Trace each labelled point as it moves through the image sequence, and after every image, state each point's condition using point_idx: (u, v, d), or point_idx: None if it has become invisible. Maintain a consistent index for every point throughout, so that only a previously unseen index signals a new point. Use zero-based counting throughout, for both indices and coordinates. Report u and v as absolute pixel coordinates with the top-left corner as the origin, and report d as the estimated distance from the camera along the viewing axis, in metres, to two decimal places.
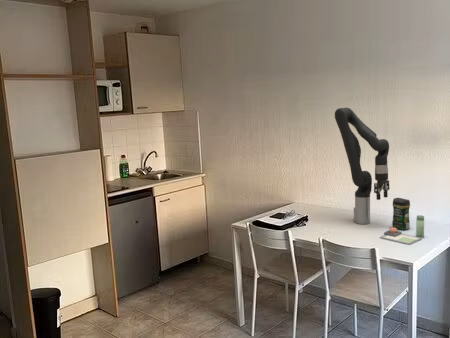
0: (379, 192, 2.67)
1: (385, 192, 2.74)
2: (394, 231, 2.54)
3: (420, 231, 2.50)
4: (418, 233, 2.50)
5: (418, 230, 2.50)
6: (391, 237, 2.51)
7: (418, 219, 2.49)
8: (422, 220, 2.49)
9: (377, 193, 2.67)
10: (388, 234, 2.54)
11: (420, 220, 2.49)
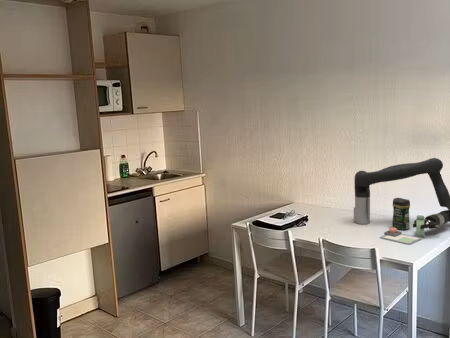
0: None
1: None
2: (394, 231, 2.54)
3: (420, 231, 2.50)
4: (418, 233, 2.50)
5: (418, 230, 2.50)
6: (391, 237, 2.51)
7: (418, 219, 2.49)
8: (422, 220, 2.49)
9: (427, 226, 2.49)
10: (388, 234, 2.54)
11: (420, 220, 2.49)
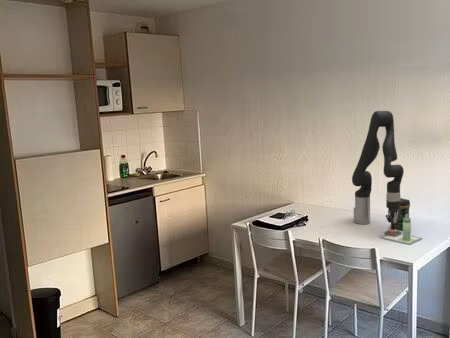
0: (394, 222, 2.53)
1: None
2: (394, 232, 2.54)
3: (406, 234, 2.43)
4: (404, 236, 2.44)
5: (404, 233, 2.44)
6: (391, 237, 2.51)
7: (404, 221, 2.43)
8: (408, 222, 2.43)
9: (391, 222, 2.54)
10: (388, 234, 2.54)
11: (406, 222, 2.43)
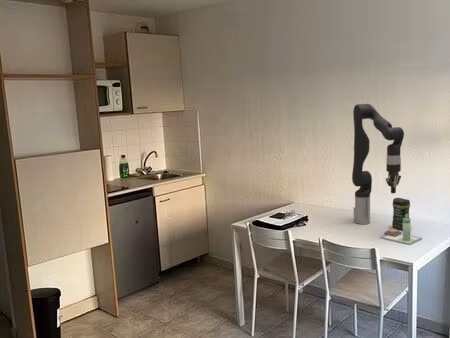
0: (394, 185, 2.50)
1: None
2: (394, 232, 2.54)
3: (405, 234, 2.43)
4: (404, 236, 2.44)
5: (404, 233, 2.44)
6: (391, 237, 2.51)
7: (404, 222, 2.43)
8: (408, 223, 2.42)
9: (392, 186, 2.51)
10: (388, 234, 2.54)
11: (406, 223, 2.42)
